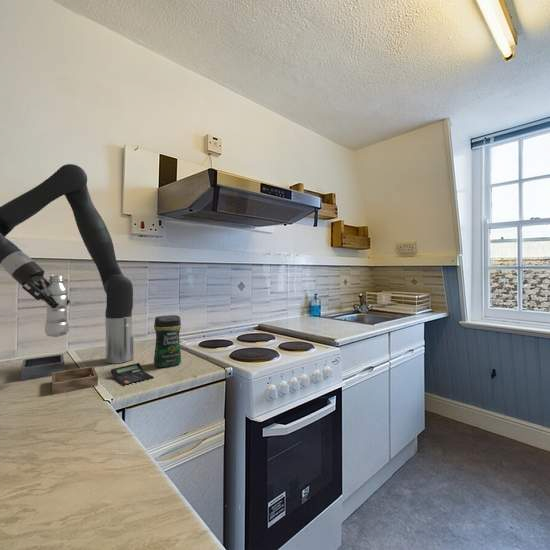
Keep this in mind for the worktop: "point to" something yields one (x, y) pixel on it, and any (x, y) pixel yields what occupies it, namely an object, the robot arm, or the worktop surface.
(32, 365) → the gray square tray
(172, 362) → the coffee jar
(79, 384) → the wooden square tray
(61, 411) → the worktop surface
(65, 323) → the silver metal bottle
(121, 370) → the calculator
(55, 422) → the worktop surface
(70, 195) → the robot arm
